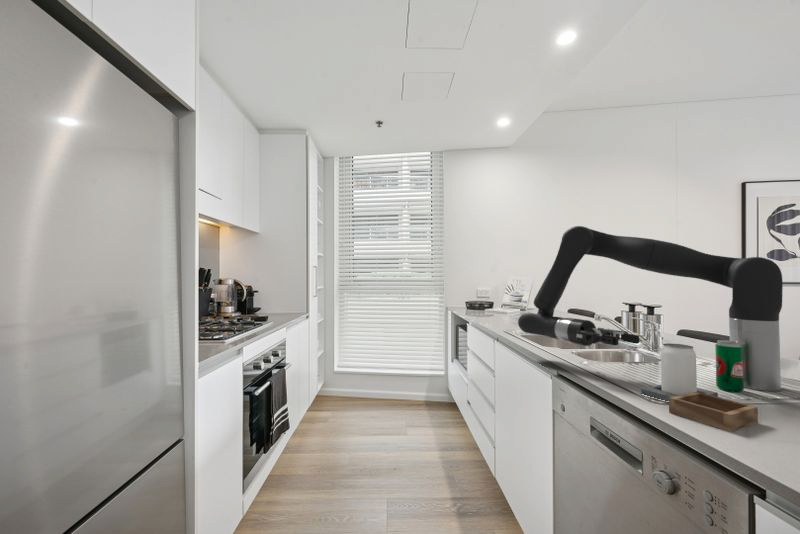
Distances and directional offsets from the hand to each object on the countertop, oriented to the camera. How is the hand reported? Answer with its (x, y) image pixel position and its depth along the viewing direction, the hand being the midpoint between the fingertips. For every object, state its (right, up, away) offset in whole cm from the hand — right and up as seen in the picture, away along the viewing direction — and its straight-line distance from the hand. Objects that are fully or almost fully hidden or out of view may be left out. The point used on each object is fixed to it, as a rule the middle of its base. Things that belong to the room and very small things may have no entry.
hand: (628, 340), depth 93 cm
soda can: (+22, -12, -5) cm, 26 cm away
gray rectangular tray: (+5, -11, -11) cm, 16 cm away
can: (+5, -11, -11) cm, 16 cm away
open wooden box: (+2, -11, -23) cm, 25 cm away
